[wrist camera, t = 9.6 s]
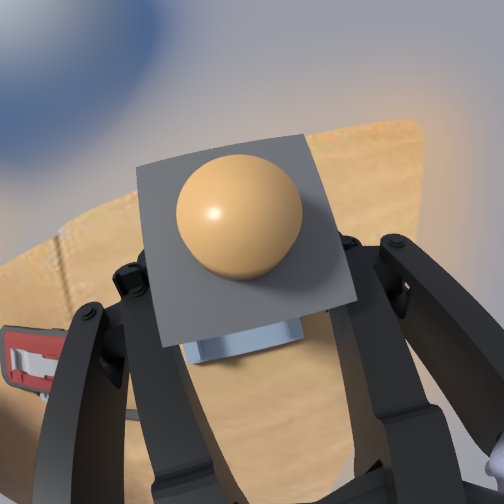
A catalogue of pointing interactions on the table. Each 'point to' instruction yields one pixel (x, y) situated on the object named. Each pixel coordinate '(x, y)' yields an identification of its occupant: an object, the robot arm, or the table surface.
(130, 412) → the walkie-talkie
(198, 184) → the grey post with ball
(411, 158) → the table surface
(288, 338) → the tray
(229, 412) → the table surface
